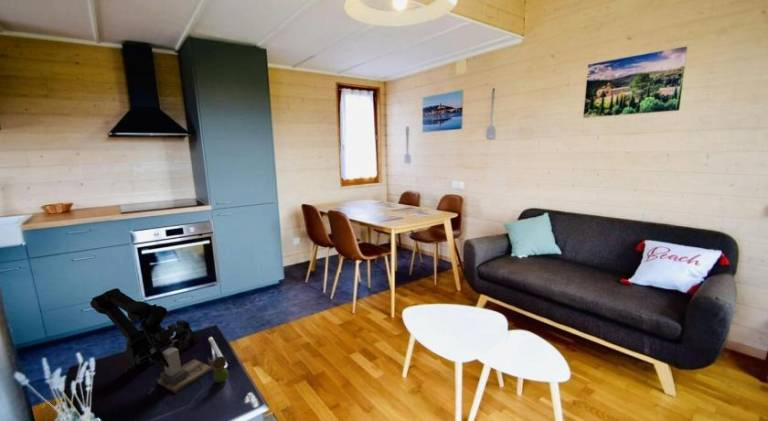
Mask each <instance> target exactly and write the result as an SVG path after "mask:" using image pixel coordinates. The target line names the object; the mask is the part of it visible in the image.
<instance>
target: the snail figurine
mask: <svg viewBox="0 0 768 421" xmlns="http://www.w3.org/2000/svg"><path fill="white" fill-rule="evenodd" d="M226 362H227V361H226V358H225V356H218V357H216V358H215V359H214V361H213V360H212V359H210V358H209V357H207V363H208V366H210V367H211V369H212V371H214V372H213V374H212V375H213V376H212V378H213V381H214V382H216V383H219V384H220V383H224V382H225V381H226V380H227V379H228V377H229V370H228V369H227V368H226V365H227V363H226Z"/></svg>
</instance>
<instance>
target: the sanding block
mask: <svg viewBox="0 0 768 421" xmlns="http://www.w3.org/2000/svg"><path fill="white" fill-rule="evenodd" d="M179 353H180V351H179V352H178V349H176V348H174V347H171V346H170V347H168V348H166V349H165V350H164V351H161V354H162V356H163V357H164V358H165V360H166V361H167V363H168V365H169V367H168V368H167V367H165V366H164V365H163V366H164V371H162V372H160V374H159V376H160V379H162V380H164V381H165V382H167V383H169V384H171V385H172V386H173V385H175V384H176V383H178V382H180V381H181V380H183V379H184V378H186V377H188V374H187V371H186V370H185V369H183V368H181V366H182V365H181V360H180V359H181V357H180V358H179Z"/></svg>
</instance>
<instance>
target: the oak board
mask: <svg viewBox="0 0 768 421" xmlns="http://www.w3.org/2000/svg"><path fill="white" fill-rule="evenodd" d="M181 368H183V369H185V370H186V371H187V374H188V377H186V378H184V379H183V380H181V381H180V382H178V383H176V384H175V385H173V386H172V385H171V384H169V383H167V382H165V381H164V380H162V379H161V378H159V379H158V380H157V383H158V384H159V385H161V387H164V388H165V389H168V390H170V391H171V392H173V393H174V394H176V393H178V392H180V390H182V389H184V388H185V387H187V386H189V385H190V384H191V383H194V382H195V381H196V380H198V379H200V378H201V377H203V376H204V375H206V374H208V373H209V372H210V371H211V370H212V369H211V367H210V365H209V364H206V363H203V362H202V361H199V360H198V359H195V358H193V359H192V360H190V361H188V362H186V363H184V364H182V365H181ZM212 371H213V370H212Z"/></svg>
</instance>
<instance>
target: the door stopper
mask: <svg viewBox="0 0 768 421" xmlns="http://www.w3.org/2000/svg"><path fill="white" fill-rule="evenodd" d="M175 326H176V328H177V331H175V333H174V336H175V335H176V333H178V332H180V331H182V330H184V329H185V330H188V332H189V333H190V334H189V335H188V337H187V339H185V340H184V341H182V342H180V343H179V352H183V351H184V350H186V349H187V348H190V347H192V346H193V345H195V344H197V343H199V342H200V340H199V338H198V336H197V335H196V334H195V332H194V331H193V329H192V328H191V324H190V322H188V321H185V320H183V319H181V318H180V319H179V320H176V322H175Z"/></svg>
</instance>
